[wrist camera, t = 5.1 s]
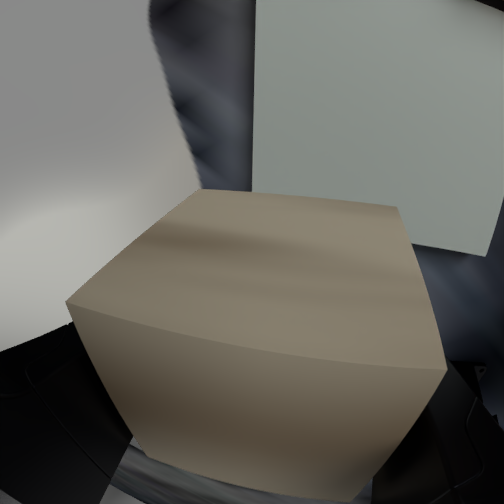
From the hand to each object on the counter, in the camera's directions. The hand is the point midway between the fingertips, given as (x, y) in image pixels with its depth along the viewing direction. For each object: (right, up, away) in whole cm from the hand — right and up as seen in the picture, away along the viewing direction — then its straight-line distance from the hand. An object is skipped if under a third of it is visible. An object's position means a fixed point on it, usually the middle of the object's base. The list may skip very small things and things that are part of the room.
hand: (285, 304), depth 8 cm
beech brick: (0, 0, +1) cm, 1 cm away
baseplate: (+6, +9, +6) cm, 13 cm away
